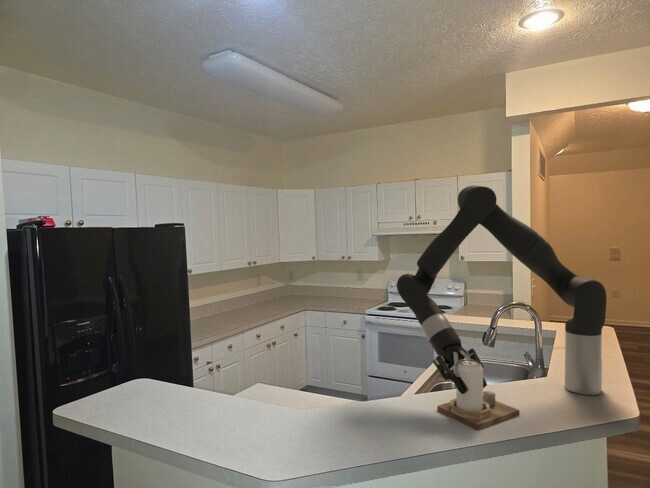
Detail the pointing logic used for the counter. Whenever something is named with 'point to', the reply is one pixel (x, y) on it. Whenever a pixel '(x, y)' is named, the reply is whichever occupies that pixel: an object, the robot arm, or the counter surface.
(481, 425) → the board
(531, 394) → the counter surface
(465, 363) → the can
